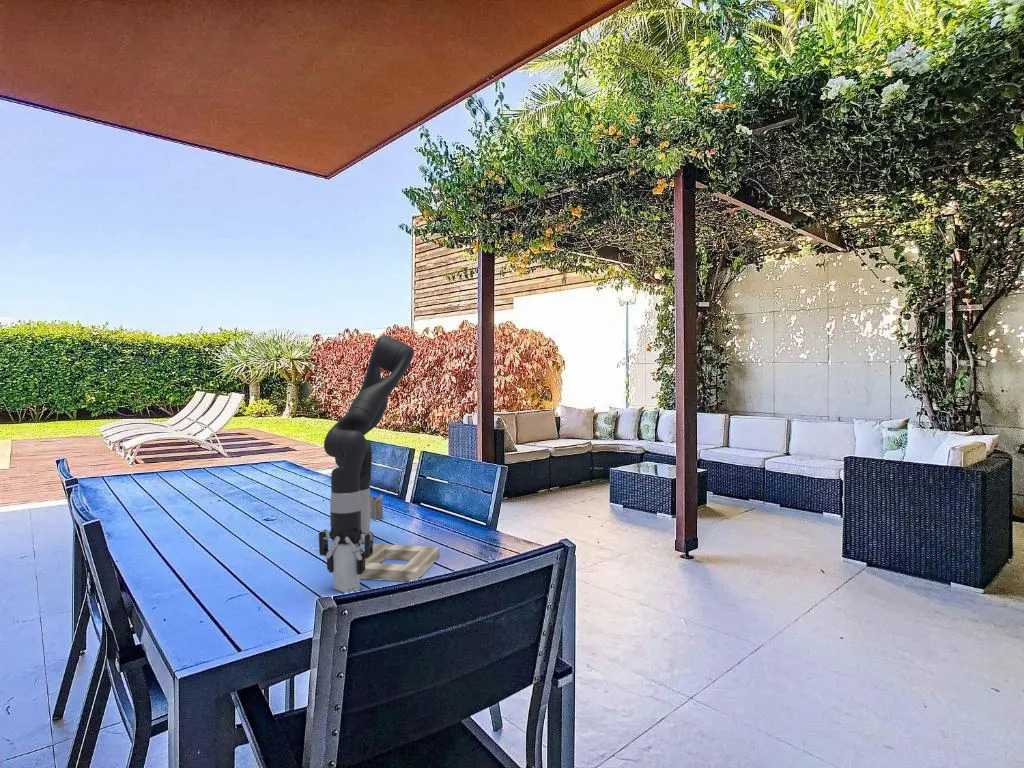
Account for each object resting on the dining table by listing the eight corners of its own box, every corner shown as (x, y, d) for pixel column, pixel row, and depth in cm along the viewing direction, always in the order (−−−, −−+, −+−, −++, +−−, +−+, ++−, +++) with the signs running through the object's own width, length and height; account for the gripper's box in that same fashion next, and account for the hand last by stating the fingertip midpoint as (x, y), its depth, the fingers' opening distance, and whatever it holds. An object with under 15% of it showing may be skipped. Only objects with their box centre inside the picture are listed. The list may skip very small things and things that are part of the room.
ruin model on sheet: (383, 521, 215) (383, 495, 214) (376, 522, 213) (375, 496, 213) (373, 514, 224) (373, 490, 224) (365, 516, 223) (365, 490, 222)
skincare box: (360, 590, 147) (360, 542, 146) (345, 595, 143) (344, 547, 143) (347, 584, 151) (347, 538, 150) (332, 588, 147) (331, 542, 147)
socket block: (344, 578, 155) (344, 567, 155) (376, 553, 176) (376, 543, 176) (415, 582, 152) (415, 571, 152) (439, 557, 172) (439, 547, 172)
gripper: (312, 510, 144) (312, 576, 144) (366, 513, 142) (366, 579, 142) (326, 503, 151) (327, 566, 152) (378, 506, 149) (378, 569, 149)
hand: (346, 572), depth 147 cm, fingers closed on skincare box, 7 cm apart
